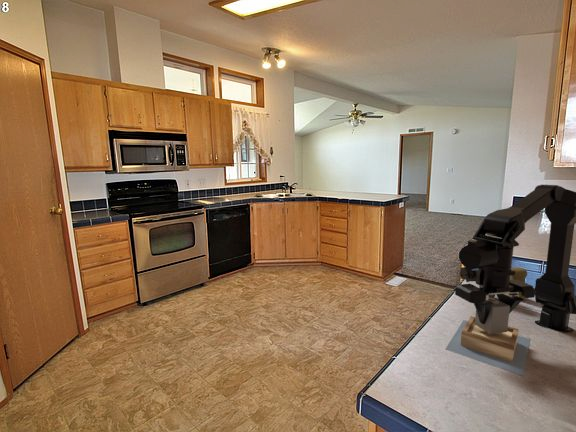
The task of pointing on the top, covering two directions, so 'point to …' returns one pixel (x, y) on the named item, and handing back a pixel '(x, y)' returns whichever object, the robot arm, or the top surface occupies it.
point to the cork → (519, 277)
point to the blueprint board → (514, 366)
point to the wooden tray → (490, 340)
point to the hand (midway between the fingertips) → (491, 322)
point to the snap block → (495, 317)
